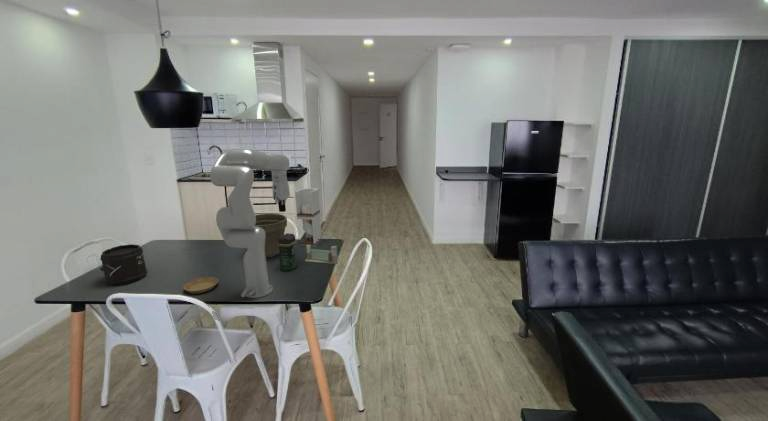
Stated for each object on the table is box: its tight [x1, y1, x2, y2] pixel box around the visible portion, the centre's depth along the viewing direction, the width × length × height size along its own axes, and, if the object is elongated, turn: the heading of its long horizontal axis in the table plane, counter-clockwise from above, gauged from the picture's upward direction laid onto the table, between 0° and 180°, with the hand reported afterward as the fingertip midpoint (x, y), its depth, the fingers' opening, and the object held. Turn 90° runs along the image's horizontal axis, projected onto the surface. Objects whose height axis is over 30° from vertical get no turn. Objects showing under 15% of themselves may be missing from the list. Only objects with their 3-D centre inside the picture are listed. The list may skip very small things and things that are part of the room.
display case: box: [294, 187, 323, 248], centre depth 219 cm, size 11×11×35 cm
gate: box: [311, 248, 331, 261], centre depth 193 cm, size 12×2×6 cm, turn 75°
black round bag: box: [99, 243, 148, 287], centre depth 174 cm, size 18×18×16 cm
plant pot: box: [255, 213, 288, 258], centre depth 205 cm, size 25×25×22 cm
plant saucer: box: [183, 276, 219, 294], centre depth 165 cm, size 15×15×3 cm
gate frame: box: [304, 244, 340, 265], centre depth 193 cm, size 4×19×9 cm, turn 75°
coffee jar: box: [278, 233, 298, 272], centre depth 184 cm, size 10×8×19 cm
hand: (282, 211), depth 188 cm, fingers closed
